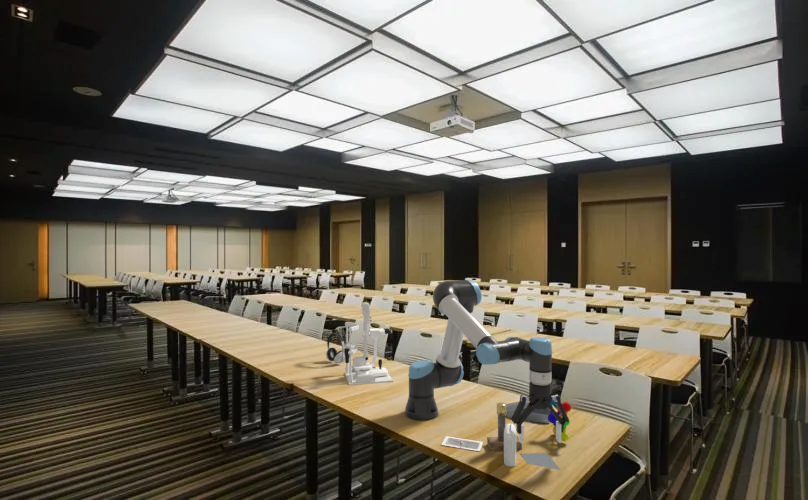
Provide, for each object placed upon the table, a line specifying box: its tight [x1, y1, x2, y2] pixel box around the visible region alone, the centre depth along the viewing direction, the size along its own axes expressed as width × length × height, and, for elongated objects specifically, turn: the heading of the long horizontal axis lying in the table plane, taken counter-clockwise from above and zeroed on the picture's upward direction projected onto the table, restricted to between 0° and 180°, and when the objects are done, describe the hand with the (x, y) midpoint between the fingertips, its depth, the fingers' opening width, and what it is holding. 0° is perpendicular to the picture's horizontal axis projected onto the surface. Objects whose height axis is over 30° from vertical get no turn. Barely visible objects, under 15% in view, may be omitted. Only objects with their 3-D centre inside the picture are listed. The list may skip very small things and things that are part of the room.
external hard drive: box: [506, 408, 550, 424], centre depth 188 cm, size 12×18×4 cm
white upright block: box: [503, 423, 517, 468], centre depth 148 cm, size 10×4×12 cm, turn 163°
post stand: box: [486, 414, 523, 451], centre depth 158 cm, size 12×5×13 cm, turn 94°
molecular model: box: [548, 400, 572, 442], centre depth 165 cm, size 15×10×15 cm, turn 5°
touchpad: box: [441, 435, 484, 452], centre depth 160 cm, size 8×15×2 cm, turn 69°
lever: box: [496, 400, 530, 416], centre depth 160 cm, size 16×4×4 cm, turn 114°
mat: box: [520, 452, 562, 471], centre depth 145 cm, size 10×14×1 cm
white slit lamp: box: [344, 302, 394, 386], centre depth 246 cm, size 24×27×45 cm
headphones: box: [325, 332, 345, 364], centre depth 280 cm, size 19×8×20 cm, turn 44°
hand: (539, 441), depth 146 cm, fingers open, 13 cm apart
